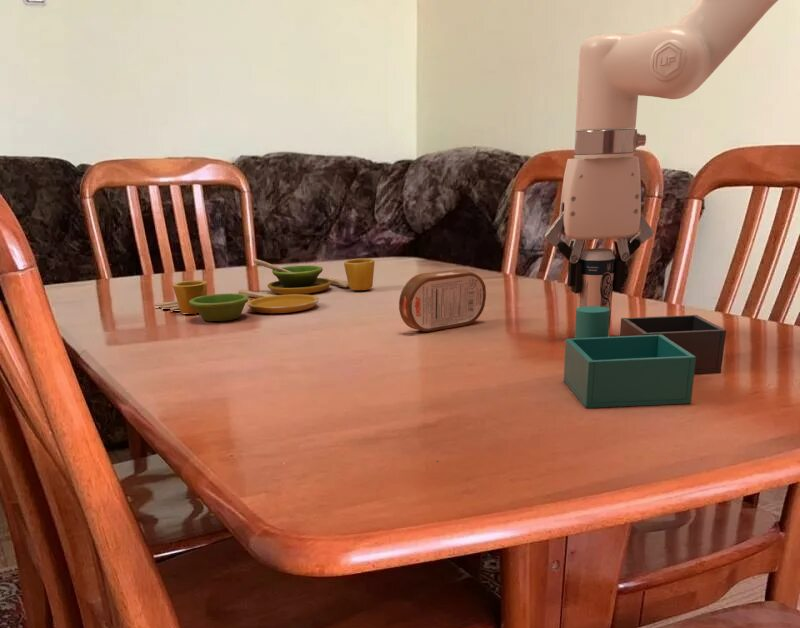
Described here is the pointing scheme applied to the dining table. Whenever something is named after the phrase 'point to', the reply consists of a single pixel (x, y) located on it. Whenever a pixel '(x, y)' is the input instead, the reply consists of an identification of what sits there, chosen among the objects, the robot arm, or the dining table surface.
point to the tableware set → (290, 282)
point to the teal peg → (592, 322)
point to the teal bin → (628, 371)
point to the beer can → (597, 279)
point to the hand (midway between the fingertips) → (595, 289)
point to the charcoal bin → (684, 337)
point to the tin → (442, 300)
